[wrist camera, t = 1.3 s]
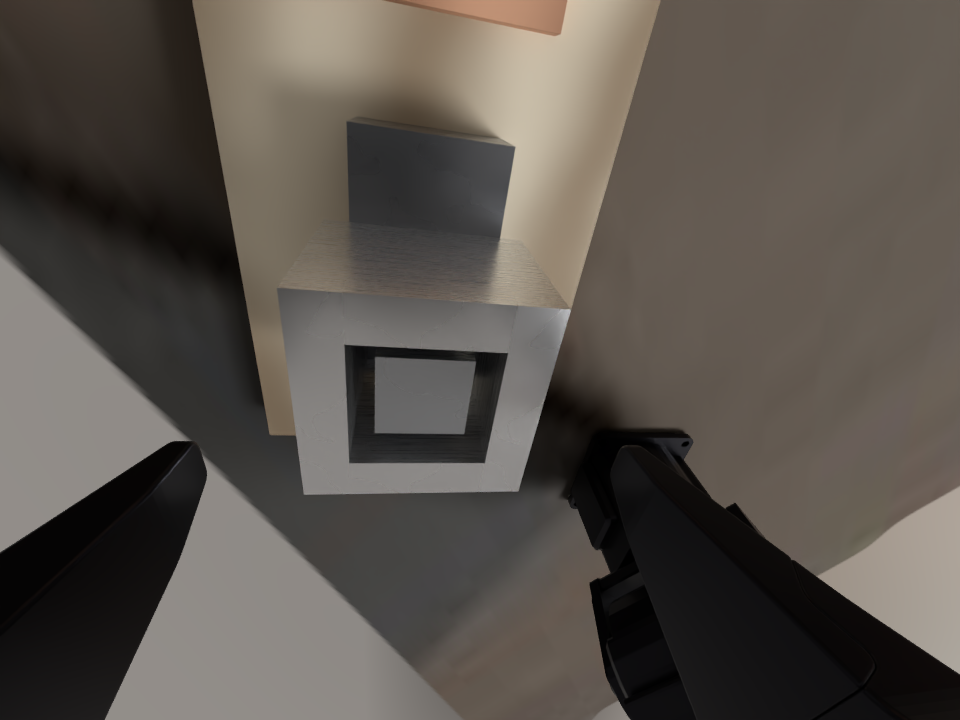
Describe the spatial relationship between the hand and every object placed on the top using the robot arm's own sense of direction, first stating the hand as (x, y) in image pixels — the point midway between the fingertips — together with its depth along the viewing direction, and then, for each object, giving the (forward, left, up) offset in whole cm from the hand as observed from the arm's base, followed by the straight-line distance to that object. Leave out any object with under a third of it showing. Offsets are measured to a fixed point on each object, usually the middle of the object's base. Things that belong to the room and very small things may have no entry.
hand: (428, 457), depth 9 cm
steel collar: (0, 0, -6) cm, 6 cm away
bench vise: (0, +1, -9) cm, 9 cm away
